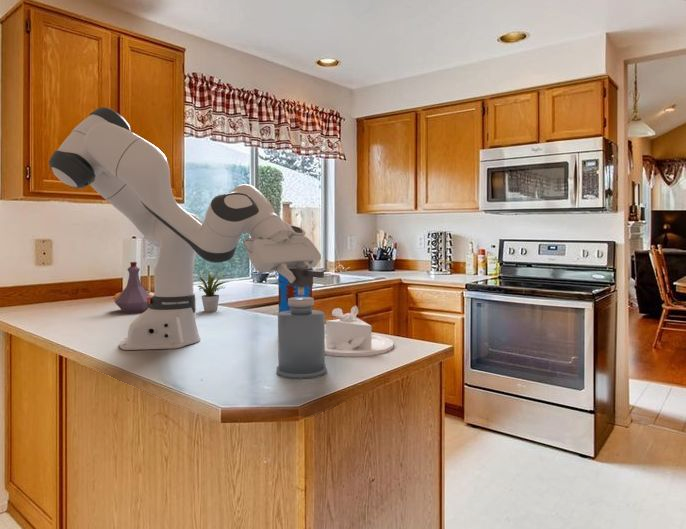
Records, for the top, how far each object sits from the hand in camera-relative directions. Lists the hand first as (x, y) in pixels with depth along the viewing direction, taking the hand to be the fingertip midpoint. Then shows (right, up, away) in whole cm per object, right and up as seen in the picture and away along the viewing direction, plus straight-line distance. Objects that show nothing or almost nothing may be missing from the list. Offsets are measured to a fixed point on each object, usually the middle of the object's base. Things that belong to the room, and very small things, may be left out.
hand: (302, 280), depth 119 cm
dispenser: (0, -22, +2) cm, 22 cm away
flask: (-76, -16, +90) cm, 119 cm away
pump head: (+1, -4, -1) cm, 4 cm away
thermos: (-6, -19, +46) cm, 50 cm away
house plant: (-45, -16, +88) cm, 100 cm away
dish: (+12, -20, +28) cm, 37 cm away
